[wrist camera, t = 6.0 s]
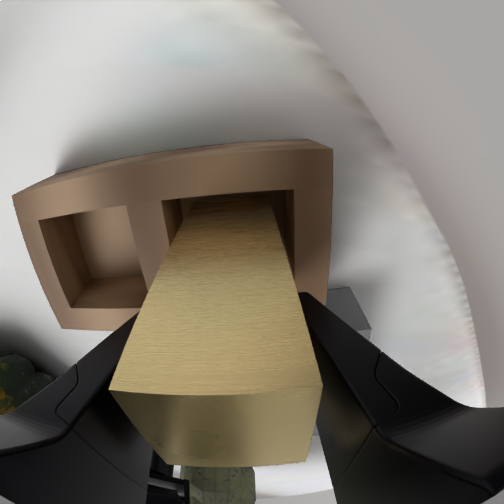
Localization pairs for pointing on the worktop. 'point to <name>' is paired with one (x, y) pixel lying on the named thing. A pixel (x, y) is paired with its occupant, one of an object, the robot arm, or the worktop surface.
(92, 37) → the worktop surface
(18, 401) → the squash
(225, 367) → the block
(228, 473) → the olive carved statue
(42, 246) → the walnut rack
